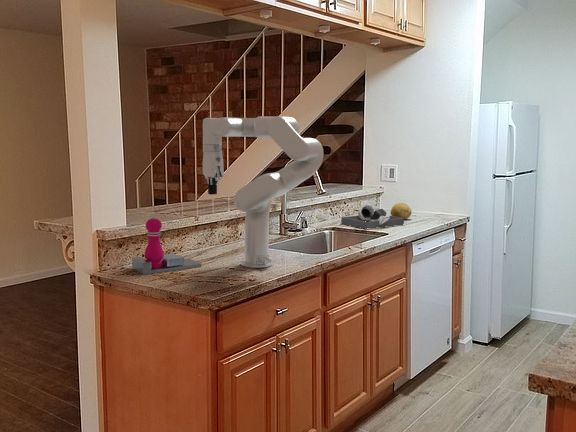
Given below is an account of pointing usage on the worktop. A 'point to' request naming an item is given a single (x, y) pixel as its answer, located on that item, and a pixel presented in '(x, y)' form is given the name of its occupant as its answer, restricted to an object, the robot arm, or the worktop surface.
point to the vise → (145, 267)
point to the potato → (401, 210)
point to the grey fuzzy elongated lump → (373, 214)
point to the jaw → (172, 260)
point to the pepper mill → (154, 243)
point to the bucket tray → (371, 222)
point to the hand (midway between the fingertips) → (212, 194)
